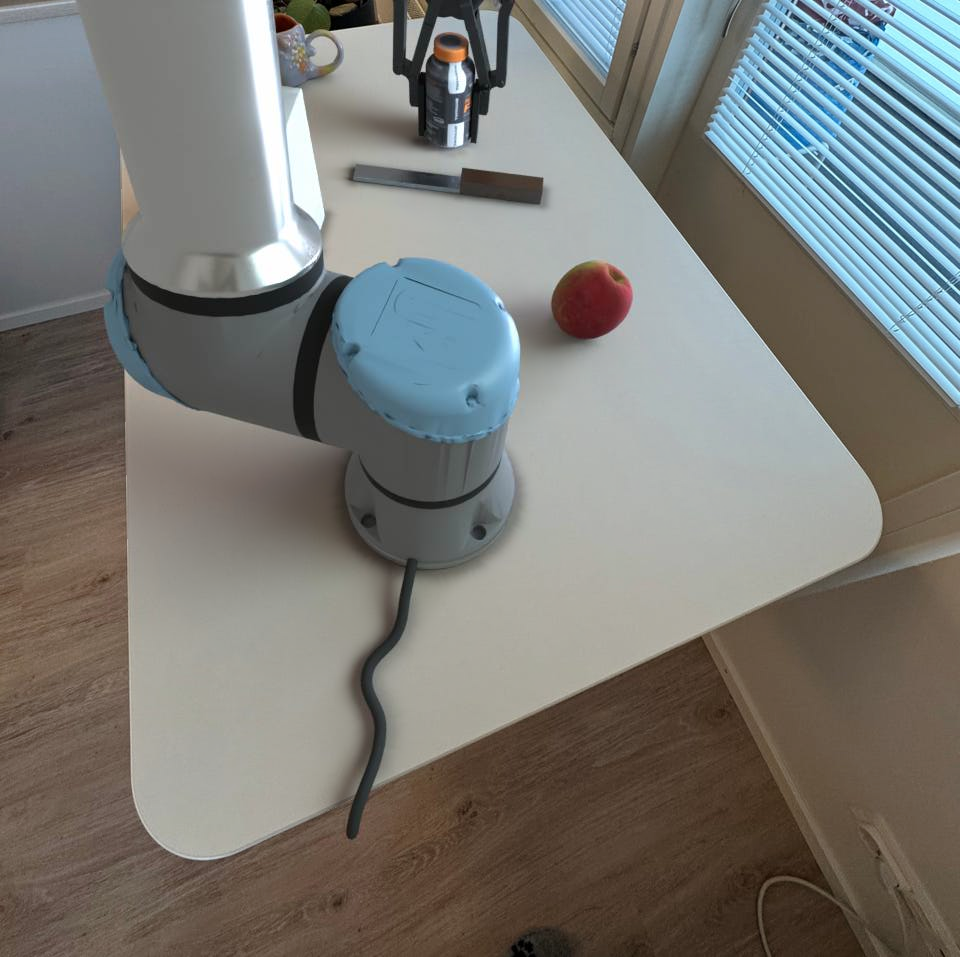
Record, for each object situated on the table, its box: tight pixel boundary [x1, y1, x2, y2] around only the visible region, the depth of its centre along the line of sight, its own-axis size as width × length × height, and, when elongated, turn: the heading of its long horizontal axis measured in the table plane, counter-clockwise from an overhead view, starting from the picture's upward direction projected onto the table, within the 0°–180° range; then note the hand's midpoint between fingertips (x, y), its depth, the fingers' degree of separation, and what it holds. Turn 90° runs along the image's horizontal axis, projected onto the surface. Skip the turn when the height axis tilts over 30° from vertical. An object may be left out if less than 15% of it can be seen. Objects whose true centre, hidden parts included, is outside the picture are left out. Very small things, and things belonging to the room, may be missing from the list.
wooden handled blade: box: [352, 163, 544, 205], centre depth 77 cm, size 23×3×2 cm, turn 85°
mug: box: [274, 12, 345, 88], centre depth 83 cm, size 12×7×7 cm, turn 92°
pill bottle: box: [425, 31, 476, 148], centre depth 77 cm, size 6×6×11 cm
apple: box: [550, 260, 634, 340], centre depth 65 cm, size 8×8×8 cm
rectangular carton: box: [282, 86, 326, 231], centre depth 65 cm, size 9×9×15 cm
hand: (448, 132), depth 81 cm, fingers closed on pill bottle, 6 cm apart
